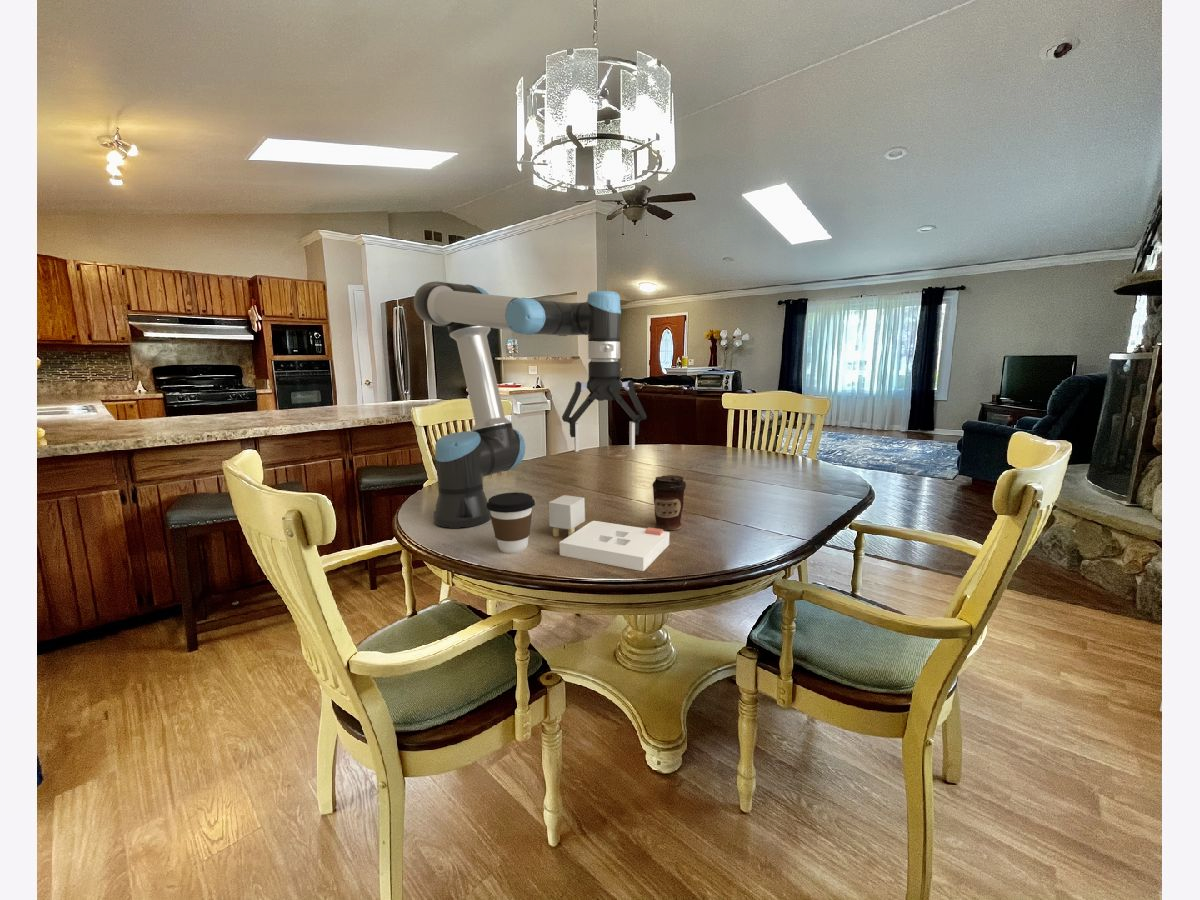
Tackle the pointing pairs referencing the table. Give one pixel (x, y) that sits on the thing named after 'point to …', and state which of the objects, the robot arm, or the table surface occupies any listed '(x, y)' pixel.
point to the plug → (566, 513)
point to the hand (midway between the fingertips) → (604, 449)
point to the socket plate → (616, 544)
